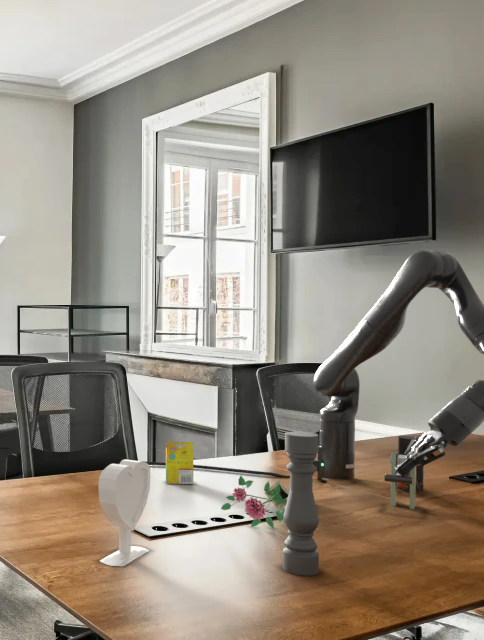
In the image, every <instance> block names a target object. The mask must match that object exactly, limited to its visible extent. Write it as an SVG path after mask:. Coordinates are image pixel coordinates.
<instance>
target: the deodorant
mask: <svg viewBox="0 0 484 640" xmlns="http://www.w3.org/2000/svg"><path fill="white" fill-rule="evenodd" d="M397 437H398V439H397V442H398V445H397V446H398V447H397V448H398V450H397V452H398V457H399V455H406V454H405V451H406V449H407V448H408V446H409V444H410V442H411V440H412V439H413V438H414V437H417V438H418V439H419V438H420V437H421V436H417V435H399V436H397ZM424 475H425V465H424V466H422V465H421V464H420V465H419V466H416V493H417V492H418V493H420V492H423V491H424V486H425V485H424V479H425V478H424V477H425V476H424ZM405 476H409V477H410V472H409V473H407V474H406V475H405ZM397 489H398V490H402V491H406V492H410V484H404V483H397Z"/></svg>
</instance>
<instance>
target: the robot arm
mask: <svg viewBox="0 0 484 640" xmlns="http://www.w3.org/2000/svg"><path fill="white" fill-rule="evenodd" d="M425 288H430V289H431V288H433V289H439V290H440V291H441V292H442V293H443V294H444V295H445V296H446V297H447V298H448V299H449V301H450V302H451V304H452V305H453V308H454V311H455V316H456V321H457V324H458V326H459V328H460V330H461V331H462V333H463V334H464V335H465V337H466V338H467V340H468V341H469V342H470V344H471V345H472V346H473V347H474V348H475V349H476V350H477V352H478V353H480V354H481V355H484V303H483V300H482V299H481V298H480V296H479V294H478V293H477V292H476V290H475V288H474V286H473V284H472V282H471V281H470V279H469V278H468V276H467V273H466V271H465V270H464V269H463V266H462V265H461V263H460V262H459V260H458V258H457V257H456V256H454V255H453V254H452V253H450V252H448V251H442V250H432V249H420V250H417V251H415V252H414V253H412V254H411V255H410V256H409V257H408V258H407V259H406V260H405V262H404V263H403V265H402V266H401V268H400V269H399V271H398V272H397V274H396V276H395V277H394V278H393V280H392V282H391V283H390V284H389V286H388V288H387V289H386V290H385V291H384V293H383V294H382V295H381V296H380V298H379V299H378V300H377V302H376V303H375V304H374V305H373V306H372V308H371V309H370V310H369V311H368V312H367V313H366V314H365V315H364V316H363V318H362V319H361V321H360V322H359V323H358V324H357V326H356V327H355V329H354V330H353V331H352V332H351V333H349V335H348V336H347V338H346V339H345V340H343V342H342V344H340V346H339V347H338V349H336V350H335V351H334V353H332V354H331V355H330V356H329V357H328V358H327V359H326V360H324V362H323V363H322V364H321V365H320V366H319V367H318V368H317V370H316V371H315V372H314V375H313V379H312V387H313V388H314V391H315V392H316V393H317V394H318V395H319V396H322V397H327V398H330V401H329V403H328V404H327V405H326V406H324V407H323V408H321V409H320V410H319V434H318V453H317V457H316V458H315V459H314V462H313V465H314V466H315V467H316V468H317V471H316V472H317V473H316V475H317V481H322V482H326V483H327V482H328V481H329V480H330V479H331V480H354V479H356V478H355V476H356V475H355V469H356V466H355V464H356V463H355V460H356V458H355V457H356V455H355V454H356V451H355V449H356V416H357V413H358V411H359V403H360V387H361V386H360V385H361V384H360V376H359V373H358V370H357V369H356V368H358V366H360V365H361V364H363V363H365V362H366V361H368V360H370V359H372V358H373V357H375V356H376V355H378V354H380V353H382V352H383V351H384V350H386V349H387V347H389V346H390V345H391V344H392V342H393V341H394V340H395V339H396V338H397V337H398V336H399V335H400V333H401V332H402V330H403V328H404V326H405V324H406V317H407V310H408V308H409V305H410V304H411V303H412V301H413V300H414V299H415V298H416V297H417V296H418V294H419V293H420V292H421V291H422V290H424V289H425ZM483 422H484V379H477V380H476V381H473V382H472V383H471V384H470V385H469V386H467V387H466V389H464V390H463V391H462V392H461V393H460V394H459V395H458V396H456V397H455V398H453V399H452V400H451V401H449V402H448V403H447V404H445V406H444V407H442V408H441V409H440V410H439V411H438V412H437V413H436V414H435V415H434V416H432V417H431V418H430V419H429V420H428V422H427V425H428V427H429V428H430V430H428V431H427V432H424V433H422V434H421V436H419V437H420V438H419V439H418V438H417V437H418V436H417V437H414V438H413V439H412V440H411V442H410V444H409V446H408V448H407V449H406V451H405V454H406V458H405V459H404V460H403V461H402V462H401V463H399V464H398V465H397V466H396V467H395V471H396V472H397V473H398V474H400V475H402V476H405V475H406V474H407V473H409V472H410V471H411V470H412V469H413V468H414V467H415V466H419V465H420V464H421V465H422V466H424V467H425V466H426V465H428V464H430V463H432V462H434V461H436V460H439V459H440V458H443V457H445V456H446V454H447V453H446V451H444V449H446V448H447V447H448V445H450V446H453V447H458V446H459V445H460V444H461V443H462V442H464V440H466V439H467V438H468V437H469V436H470V435H471V434H472V433H473V432H475V431H476V430H477V429H478V428H479V427H480V426H481V425H482V424H483ZM140 461H141V462H146V463H148V465H149V466H164V467H166V462H161V461H159V462H158V461H144V460H140ZM193 469H202V470H211V471H213V470H214V471H220V472H221V471H222V472H231V473H240V474H241V473H242V474H249V475H250V474H251V475H261V476H271V477H276V478H285V479H290V475H286V474H280V473H276V472H270V471H261V470H251V469H250V470H249V469H240V468H233V467H232V468H230V467H222V466H211V465H202V464H201V465H200V464H193Z"/></svg>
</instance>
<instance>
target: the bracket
mask: <svg viewBox="0 0 484 640" xmlns="http://www.w3.org/2000/svg"><path fill="white" fill-rule="evenodd" d="M390 455H391V456H389V459H388V460H389V461H388V462H389V464H390V474H391V475H396V474H397V472H396V471H395V467H396V466H397V465H398V451H392V453H391V454H390ZM410 477H413V483H412V484H410V491H409V509H411V510H415V508H416V506H417V492H416V466H415V467H414V468H413V469H412V470H411V471H410ZM397 504H398V483H395V482H390V507H396V506H397Z"/></svg>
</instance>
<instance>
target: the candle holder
mask: <svg viewBox="0 0 484 640" xmlns="http://www.w3.org/2000/svg"><path fill="white" fill-rule="evenodd" d="M318 447H319V434H318V433H314V432H308V431H286V432H285V433H284V451H286V456H287V457H288V460H289V463H288V464H287V465H286V466H285V468H286V471H288V473H289V476H290V478H289V488H290V491H289V495H288V499H287V503H286V507H285V511H284V510H283V517H282V520H283V523H284V526H285V527H286V528H287V529H288V530H287V533H288V534H289V535H288V536H287V537H286V538H285V540H284V542H283V543H284V546H285V547H283V549H282V569H283V571H285V572H287V573H290V574H293V575H298V576H309V577H310V576H315V575H319V569H320V568H319V566H320V564H319V563H320V556H319V555H320V553H319V552H318V551H317V549H318V543H317V542H316V541H315V539H314V537H313V536H314V535H315V533H314V532H315V531H316V530H317V528H318V526H319V523H320V518H319V512H318V509H317V505H316V504H317V503H316V500H315V496H314V492H313V491H314V490H313V487H314V485H313V483H314V482H313V481H314V480H313V479H314V478H313V477H314V474H315V473H316V472H317V468H316V467H315V466H314V465H313V462H314V459H315V458H317V457H318Z"/></svg>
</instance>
